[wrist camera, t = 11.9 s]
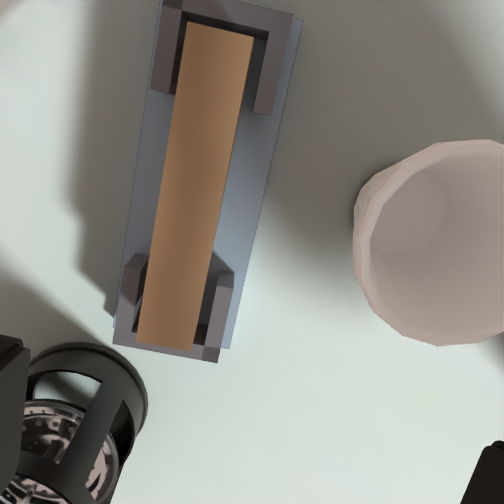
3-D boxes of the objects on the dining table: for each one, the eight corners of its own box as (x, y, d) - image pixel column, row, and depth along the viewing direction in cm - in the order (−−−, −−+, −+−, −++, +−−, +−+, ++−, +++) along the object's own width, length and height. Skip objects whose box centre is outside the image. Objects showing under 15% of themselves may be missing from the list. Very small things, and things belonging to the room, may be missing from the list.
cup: (418, 307, 32) (485, 380, 23) (294, 240, 31) (315, 290, 22) (507, 181, 30) (619, 208, 21) (377, 102, 28) (438, 94, 19)
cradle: (300, 23, 27) (310, 7, 23) (229, 342, 33) (227, 372, 29) (165, -10, 26) (151, -32, 22) (116, 321, 32) (98, 348, 28)
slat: (251, 54, 26) (253, 36, 21) (201, 308, 31) (190, 351, 25) (200, 42, 26) (187, 21, 20) (156, 299, 30) (135, 341, 25)
